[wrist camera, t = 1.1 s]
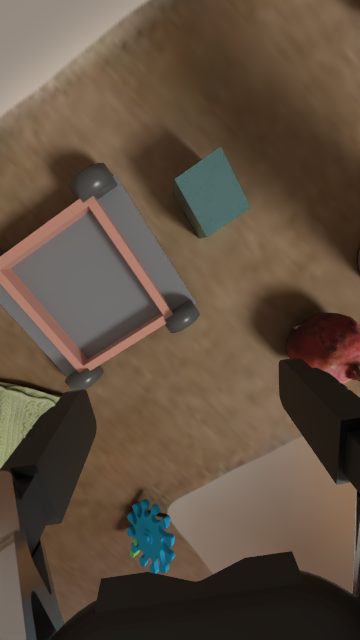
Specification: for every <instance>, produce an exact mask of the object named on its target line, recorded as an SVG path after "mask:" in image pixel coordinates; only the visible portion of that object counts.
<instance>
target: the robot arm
mask: <svg viewBox="0 0 360 640" xmlns="http://www.w3.org/2000/svg"><path fill="white" fill-rule="evenodd" d="M358 266H359V270H360V250H359V255H358ZM279 394H280V399H281V403H282V405H283V407H284V409H285V411H286V412H287V413H288V415H289V416H290V418H291V419H292V421H293V422H294V424H295V425H296V426H297V428H298V429H299V431H300V432H301V434H302V435H303V437H304V438H305V439H306V441H307V442H308V444H309V445H310V447H311V448H312V450H313V451H314V453H315V454H316V455H317V457H318V458H319V460H320V461H321V463H322V464H323V466H324V467H325V468H326V470H327V471H328V473H329V474H330V476H331V477H332V479H333V480H334V482H335V483H336V484H343V483H349V482H351V483H352V484H353V486H354V487H355V488H356V506H355V508H356V509H355V548H354V574H353V590H352V594H351V593H350V592H348V591H347V590H345V589H343V588H342V587H340V586H338V585H337V584H335V583H333V582H331V581H328V580H327V579H324V578H322V577H321V576H317V575H315V574H311V573H309V572H305V571H300V570H299V568H298V566H297V563H296V561H295V558H294V556H293V553H292V551H291V552H284V553H277V554H270V555H263V556H256V557H249V558H244V559H242V560H240V561H238V562H236V563H234V564H232V565H231V566H229V567H227V568H225V569H223V570H221V571H219V572H217V573H215V574H213V575H211V576H209V577H207V578H206V579H204V580H201V581H198V582H193V581H188V580H183V579H178V578H174V577H169V576H164V575H160V574H155V573H150V572H144V573H137V574H131V575H124V576H117V577H110V578H103V579H101V582H100V587H99V592H98V597H97V600H96V601H94V602H92V603H91V604H89V605H88V606H86V607H85V608H83V609H82V610H80V611H79V612H78V613H77V614H75V615H74V616H73V617H72V618H71V619H69V620H68V621H67V622H66V623H64V621H63V618H62V615H61V612H60V609H59V606H58V602H57V598H56V594H55V590H54V585H53V581H52V577H51V572H50V568H49V564H48V559H47V555H46V551H45V546H44V542H43V540H42V538H41V535H42V533H43V530H44V528H45V526H46V525H52V524H59V523H61V522H62V520H63V517H64V515H65V512H66V510H67V507H68V505H69V502H70V499H71V497H72V494H73V492H74V489H75V487H76V484H77V481H78V479H79V476H80V474H81V471H82V469H83V466H84V464H85V461H86V458H87V456H88V453H89V451H90V448H91V446H92V443H93V441H94V438H95V435H96V420H95V416H94V413H93V410H92V407H91V403H90V400H89V397H88V394H87V392H86V390H84V389H82V390H76V391H69V392H65V393H63V395H62V396H61V397H60V399H59V400H58V402H57V403H56V404H55V406H52V407H51V408H50V409H48V410H47V411H46V412H45V413H43V414H42V415H41V416H40V417H39V418H38V420H37V421H36V422H35V424H34V425H33V426H32V429H30V430H29V432H28V433H27V434H26V437H25V438H23V439H22V441H21V442H20V443H19V445H18V446H17V447H16V449H15V450H14V451H13V453H12V454H11V455H10V457H9V458H8V459H7V461H6V462H5V463H4V465H3V466H2V467H1V469H0V640H360V398H359V397H358V396H357V395H356V394H354V393H353V392H352V391H351V390H348V388H347V387H346V386H345V385H343V384H342V383H340V381H338V380H337V379H336V378H335V377H334V376H332V375H331V374H330V373H328V372H325V371H323V370H321V369H319V368H312V367H311V366H310V365H308V364H307V363H306V362H305V361H304V360H303V359H301V358H300V357H298V358H291V359H285V360H280V362H279Z"/></svg>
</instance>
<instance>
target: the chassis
mask: <svg viewBox="0 0 360 640" xmlns="http://www.w3.org/2000/svg"><path fill="white" fill-rule="evenodd" d="M70 189H71V190H72V192H73V193H74V194H75V196H76V197H77V199H78V200H77V201H76V202H74V203H73V204H72V205H70V206H69V207H67V208H66V209H65V210H63V211H62V212H61V213H59V214H58V215H57V216H55V217H54V218H52V219H51V220H50V221H48V222H47V223H46V224H44V225H43V226H41V227H40V228H39V229H37V230H36V231H35V232H33V233H32V234H30V235H29V236H28V237H26V238H25V239H24V240H22V241H21V242H20V243H18V244H17V245H15V246H14V247H13V248H11V249H10V250H9V251H7V252H6V253H4V252H3V251H2V249H1V248H0V304H1V305H2V306H3V307H4V308H5V309H6V311H7V312H8V313H9V314H10V315H11V316H12V317H13V318H14V319H15V320H16V322H17V323H18V324H19V325H20V326H21V327H22V328H23V329H24V330H25V331H26V333H27V334H28V335H29V336H30V337H31V338H32V339H33V340H34V341H35V342H36V344H37V345H38V346H39V347H40V348H41V349H42V350H43V351H44V352H45V353H46V355H47V356H48V357H49V358H50V359H51V360H52V361H53V362H54V363H55V364H56V366H57V367H58V368H59V369H60V370H61V371H62V372H63V373H64V374H65V375H66V377H67V378H66V380H65V383H66V384H67V385H68V386H69V387H70V388H71V389H72V390H73V391H76V390H82V389H84V390H86V389H87V388H89V387H90V386H91V385H92V384H94V383H95V382H96V381H97V380H98V379H99V378H100V376H101V375H102V373H103V369H102V368H101V367H100V366H99V365H100V364H102V363H104V362H105V361H107V360H108V359H110V358H112V357H113V356H115V355H116V354H118V353H120V352H121V351H123V350H124V349H126V348H128V347H129V346H131V345H132V344H134V343H136V342H137V341H139V340H140V339H142V338H144V337H145V336H147V335H148V334H150V333H152V332H153V331H155V330H156V329H158V328H160V327H161V326H163V325H164V324H165V325H166V327H167V328H168V330H169V331H170V332H171V333H176V332H179V331H181V330H183V329H185V328H187V327H188V326H190V325H191V324H192V323H193V322H194V321H195V320H196V319H197V318H198V317H199V315H200V313H199V311H198V310H197V308H196V307H195V305H196V302H195V300H194V298H193V297H192V295H191V294H190V292H189V290H188V289H187V287H186V286H185V284H184V283H183V281H182V279H181V278H180V276H179V275H178V273H177V271H176V270H175V268H174V267H173V265H172V263H171V262H170V260H169V259H168V257H167V256H166V254H165V252H164V251H163V249H162V248H161V246H160V244H159V243H158V241H157V240H156V238H155V237H154V235H153V233H152V232H151V230H150V229H149V227H148V225H147V224H146V222H145V221H144V219H143V217H142V216H141V214H140V213H139V211H138V210H137V208H136V206H135V205H134V203H133V202H132V200H131V198H130V197H129V195H128V194H127V192H126V191H125V189H124V187H123V186H122V184H121V183H120V181H119V179H118V178H117V176H116V175H113V176H112V174H111V173H110V171H109V170H108V168H107V167H106V165H105V164H104V163H97V164H93V165H91V166H89V167H87V168H85V169H84V170H82V171H81V172H80V173H78V174H77V175H76V176H75V177H74V179H73V180H72V181H71V183H70Z"/></svg>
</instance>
